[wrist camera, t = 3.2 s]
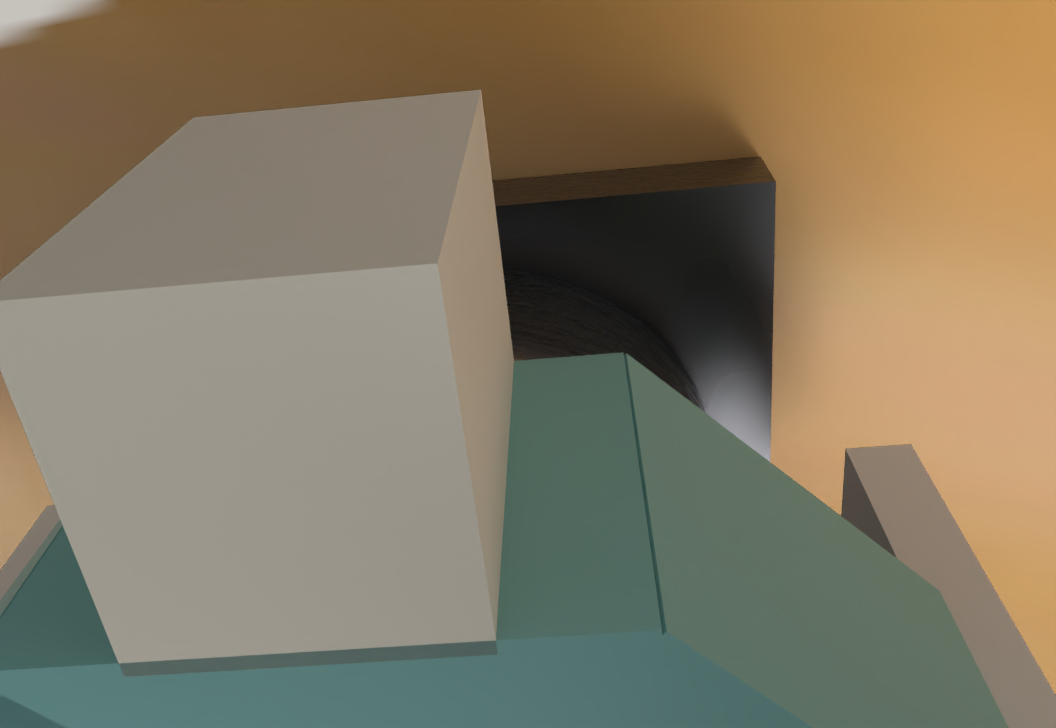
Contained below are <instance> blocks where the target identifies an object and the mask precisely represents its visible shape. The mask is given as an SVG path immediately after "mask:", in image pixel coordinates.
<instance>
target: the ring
mask: <svg viewBox="0 0 1056 728" xmlns="http://www.w3.org/2000/svg"><path fill="white" fill-rule="evenodd" d="M0 372H1V374H2V376H3V379H4V381H5V384H6V386H7V389H8V391H9V394H10V396H11V399H12V401H13V404H14V406H15V409H16V411H17V414H18V416H19V419H20V421H21V423H22V426H23V428H24V431H25V433H26V436H27V438H28V441H29V443H30V446H31V448H32V451H33V453H34V456H35V458H36V461H37V463H38V465H39V468H40V470H41V473H42V475H43V478H44V480H45V483H46V485H47V488H48V490H49V493H50V495H51V498H52V500H53V503H54V505H55V507H56V510H57V512H58V515H59V517H60V520H59V521H58V523H57V524H56V526H55V527H54V528H53V530H52V531H51V532H50V534H49V535H48V536H47V538H46V539H45V540H44V542H43V543H42V544H41V546H40V547H39V549H38V550H37V551H36V553H35V554H34V555H33V557H32V558H31V559H30V561H29V562H28V563H27V565H26V566H25V567H24V569H23V570H22V572H21V573H20V574H19V576H18V577H17V578H16V580H15V581H14V582H13V584H12V585H11V586H10V588H9V589H8V590H7V592H6V593H5V594H4V596H3V597H2V599H1V600H0V728H1009V727H1008V725H1007V723H1006V722H1005V720H1004V718H1003V716H1002V714H1001V712H1000V710H999V708H998V706H997V704H996V702H995V700H994V698H993V696H992V694H991V692H990V690H989V688H988V686H987V684H986V682H985V680H984V678H983V676H982V674H981V672H980V670H979V668H978V666H977V664H976V662H975V660H974V658H973V656H972V654H971V652H970V650H969V648H968V646H967V644H966V642H965V640H964V638H963V636H962V634H961V632H960V630H959V628H958V626H957V624H956V623H955V621H954V619H953V617H952V615H951V613H950V611H949V609H948V607H947V605H946V603H945V601H944V599H943V597H942V595H941V593H940V591H939V590H938V589H936V588H935V587H934V586H933V585H931V584H930V583H929V582H927V581H926V580H925V579H923V578H922V577H921V576H919V575H918V574H917V573H915V572H914V571H913V570H911V569H910V568H909V567H908V566H906V565H905V564H904V563H902V562H901V561H900V560H898V559H897V558H896V557H894V556H893V555H892V554H890V553H889V552H888V551H886V550H885V549H884V548H882V547H881V546H880V545H879V544H877V543H876V542H875V541H873V540H872V539H871V538H869V537H868V536H867V535H865V534H864V533H863V532H861V531H860V530H859V529H857V528H856V527H855V526H853V525H852V524H851V523H850V522H848V521H847V520H846V519H844V518H843V517H842V516H840V515H839V514H838V513H836V512H835V511H834V510H832V509H831V508H830V507H828V506H827V505H826V504H825V503H823V502H822V501H821V500H819V499H818V498H817V497H815V496H814V495H813V494H811V493H810V492H809V491H807V490H806V489H805V488H803V487H802V486H801V485H799V484H798V483H797V482H796V481H794V480H793V479H792V478H790V477H789V476H788V475H786V474H785V473H784V472H782V471H781V470H780V469H778V468H777V467H776V466H774V465H773V464H772V463H771V462H769V461H768V460H767V459H765V458H764V457H763V456H761V455H760V454H759V453H757V452H756V451H755V450H753V449H752V448H751V447H749V446H748V445H747V444H745V443H744V442H743V441H742V440H740V439H739V438H738V437H736V436H735V435H734V434H732V433H731V432H730V431H728V430H727V429H726V428H724V427H723V426H722V425H720V424H719V423H718V422H716V421H715V420H714V419H713V418H711V417H710V416H709V415H707V414H706V413H705V412H703V411H702V410H701V409H699V408H698V407H697V406H695V405H694V404H693V403H691V402H690V401H689V400H688V399H686V398H685V397H684V396H682V395H681V394H680V393H678V392H677V391H676V390H674V389H673V388H672V387H670V386H669V385H668V384H666V383H665V382H664V381H662V380H661V379H660V378H659V377H657V376H656V375H655V374H653V373H652V372H651V371H649V370H648V369H647V368H645V367H644V366H643V365H641V364H640V363H639V362H637V361H636V360H635V359H634V358H632V357H631V356H630V355H628V354H627V353H626V354H625V355H624V353H623V352H621V353H609V354H596V355H583V356H571V357H558V358H545V359H533V360H520V361H514V357H513V349H512V340H511V332H510V324H509V315H508V307H507V299H506V291H505V282H504V274H503V266H502V258H501V249H500V241H499V233H498V225H497V216H496V208H495V200H494V192H493V183H492V175H491V167H490V159H489V150H488V142H487V134H486V126H485V117H484V109H483V101H482V93H481V90H472V91H461V92H451V93H440V94H430V95H420V96H409V97H399V98H389V99H378V100H368V101H358V102H347V103H337V104H327V105H316V106H306V107H296V108H285V109H275V110H264V111H254V112H244V113H233V114H223V115H213V116H202V117H193V118H192V119H191V120H190V121H189V122H187V123H186V124H185V125H184V126H183V127H181V128H180V129H179V130H178V131H177V132H176V133H174V134H173V135H172V136H171V137H170V138H168V139H167V140H166V141H165V142H164V143H162V144H161V145H160V146H159V147H158V148H157V149H155V150H154V151H153V152H152V153H151V154H149V155H148V156H147V157H146V158H145V159H143V160H142V161H141V162H140V163H139V164H138V165H136V166H135V167H134V168H133V169H132V170H130V171H129V172H128V173H127V174H126V175H124V176H123V177H122V178H121V179H120V180H119V181H117V182H116V183H115V184H114V185H113V186H111V187H110V188H109V189H108V190H107V191H105V192H104V193H103V194H102V195H101V196H100V197H98V198H97V199H96V200H95V201H94V202H92V203H91V204H90V205H89V206H88V207H86V208H85V209H84V210H83V211H82V212H81V213H79V214H78V215H77V216H76V217H75V218H73V219H72V220H71V221H70V222H69V223H67V224H66V225H65V226H64V227H63V228H62V229H60V230H59V231H58V232H57V233H56V234H54V235H53V236H52V237H51V238H50V239H48V240H47V241H46V242H45V243H44V244H42V245H41V246H40V247H39V248H38V249H37V250H35V251H34V252H33V253H32V254H31V255H29V256H28V257H27V258H26V259H25V260H23V261H22V262H21V263H20V264H19V265H18V266H16V267H15V268H14V269H13V270H12V271H10V272H9V273H8V274H7V275H6V276H4V277H3V278H2V279H1V280H0Z"/></svg>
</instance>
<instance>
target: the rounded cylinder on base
mask: <svg viewBox="0 0 1056 728" xmlns="http://www.w3.org/2000/svg"><path fill="white" fill-rule="evenodd" d="M492 183H493V192H494V200H495V208H496V216H497V225H498V233H499V241H500V249H501V258H502V266H503V274H504V282H505V291H506V299H507V307H508V315H509V324H510V332H511V340H512V349H513V357H514V361H520V360H533V359H545V358H558V357H571V356H583V355H596V354H609V353H621V352H623V353H624V355H625V354H626V353H627V354H628V355H630V356H631V357H632V358H634V359H635V360H636V361H637V362H639V363H640V364H641V365H643V366H644V367H645V368H647V369H648V370H649V371H651V372H652V373H653V374H655V375H656V376H657V377H659V378H660V379H661V380H662V381H664V382H665V383H666V384H668V385H669V386H670V387H672V388H673V389H674V390H676V391H677V392H678V393H680V394H681V395H682V396H684V397H685V398H686V399H688V400H689V401H690V402H691V403H693V404H694V405H695V406H697V407H698V408H699V409H701V410H702V411H703V412H705V413H706V414H707V415H709V416H710V417H711V418H713V419H714V420H715V421H716V422H718V423H719V424H720V425H722V426H723V427H724V428H726V429H727V430H728V431H730V432H731V433H732V434H734V435H735V436H736V437H738V438H739V439H740V440H742V441H743V442H744V443H745V444H747V445H748V446H749V447H751V448H752V449H753V450H755V451H756V452H757V453H759V454H760V455H761V456H763V457H764V458H765V459H767V460H768V461H769V462H770V440H771V390H772V341H773V291H774V242H775V192H776V181H775V179H774V178H773V176H772V175H771V173H770V171H769V170H768V168H767V166H766V165H765V163H764V162H763V160H762V158H761V157H753V158H742V159H731V160H720V161H709V162H698V163H687V164H676V165H665V166H654V167H643V168H632V169H621V170H610V171H599V172H588V173H577V174H566V175H555V176H544V177H532V178H521V179H510V180H499V181H492Z"/></svg>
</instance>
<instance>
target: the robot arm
mask: <svg viewBox="0 0 1056 728" xmlns="http://www.w3.org/2000/svg"><path fill="white" fill-rule="evenodd" d="M841 516H842V517H843V518H844V519H846V520H847V521H848V522H850V523H851V524H852V525H853V526H855V527H856V528H857V529H859V530H860V531H861V532H863V533H864V534H865V535H867V536H868V537H869V538H871V539H872V540H873V541H875V542H876V543H877V544H879V545H880V546H881V547H882V548H884V549H885V550H886V551H888V552H889V553H890V554H892V555H893V556H894V557H896V558H897V559H898V560H900V561H901V562H902V563H904V564H905V565H906V566H908V567H909V568H910V569H911V570H913V571H914V572H915V573H917V574H918V575H919V576H921V577H922V578H923V579H925V580H926V581H927V582H929V583H930V584H931V585H933V586H934V587H935V588H936V589H938V590H939V591H940V593H941V595H942V597H943V599H944V601H945V603H946V605H947V607H948V609H949V611H950V613H951V615H952V617H953V619H954V621H955V623H956V624H957V626H958V628H959V630H960V632H961V634H962V636H963V638H964V640H965V642H966V644H967V646H968V648H969V650H970V652H971V654H972V656H973V658H974V660H975V662H976V664H977V666H978V668H979V670H980V672H981V674H982V676H983V678H984V680H985V682H986V684H987V686H988V688H989V690H990V692H991V694H992V696H993V698H994V700H995V702H996V704H997V706H998V708H999V710H1000V712H1001V714H1002V716H1003V718H1004V720H1005V722H1006V723H1007V725H1008V727H1009V728H1056V695H1055V693H1054V691H1053V690H1052V688H1051V686H1050V685H1049V683H1048V681H1047V679H1046V678H1045V676H1044V674H1043V672H1042V671H1041V669H1040V667H1039V665H1038V664H1037V662H1036V660H1035V659H1034V657H1033V655H1032V653H1031V652H1030V650H1029V648H1028V646H1027V645H1026V643H1025V641H1024V639H1023V638H1022V636H1021V634H1020V632H1019V631H1018V629H1017V627H1016V626H1015V624H1014V622H1013V620H1012V619H1011V617H1010V615H1009V613H1008V612H1007V610H1006V608H1005V606H1004V605H1003V603H1002V601H1001V600H1000V598H999V596H998V594H997V593H996V591H995V589H994V587H993V586H992V584H991V582H990V580H989V579H988V577H987V575H986V574H985V572H984V570H983V568H982V567H981V565H980V563H979V561H978V560H977V558H976V556H975V554H974V553H973V551H972V549H971V547H970V546H969V544H968V542H967V541H966V539H965V537H964V535H963V534H962V532H961V530H960V528H959V527H958V525H957V523H956V521H955V520H954V518H953V516H952V515H951V513H950V511H949V509H948V508H947V506H946V504H945V502H944V501H943V499H942V497H941V495H940V494H939V492H938V490H937V489H936V487H935V485H934V483H933V482H932V480H931V478H930V476H929V475H928V473H927V471H926V469H925V468H924V466H923V464H922V462H921V461H920V459H919V457H918V456H917V454H916V452H915V450H914V449H913V447H912V445H911V444H904V445H890V446H876V447H862V448H848V449H846V451H845V467H844V483H843V498H842V514H841ZM59 520H60V517H59V515H58V512H57V510H56V507H55V505H51V506H47V507H46V508H45V510H44V511H43V512H42V514H41V515H40V516H39V518H38V519H37V521H36V522H35V523H34V525H33V526H32V527H31V529H30V530H29V532H28V533H27V534H26V536H25V537H24V538H23V540H22V541H21V543H20V544H19V545H18V547H17V548H16V549H15V551H14V552H13V554H12V555H11V556H10V558H9V559H8V560H7V562H6V563H5V565H4V566H3V567H2V569H1V570H0V600H1V599H2V597H3V596H4V594H5V593H6V592H7V590H8V589H9V588H10V586H11V585H12V584H13V582H14V581H15V580H16V578H17V577H18V576H19V574H20V573H21V572H22V570H23V569H24V567H25V566H26V565H27V563H28V562H29V561H30V559H31V558H32V557H33V555H34V554H35V553H36V551H37V550H38V549H39V547H40V546H41V544H42V543H43V542H44V540H45V539H46V538H47V536H48V535H49V534H50V532H51V531H52V530H53V528H54V527H55V526H56V524H57V523H58V521H59Z"/></svg>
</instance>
